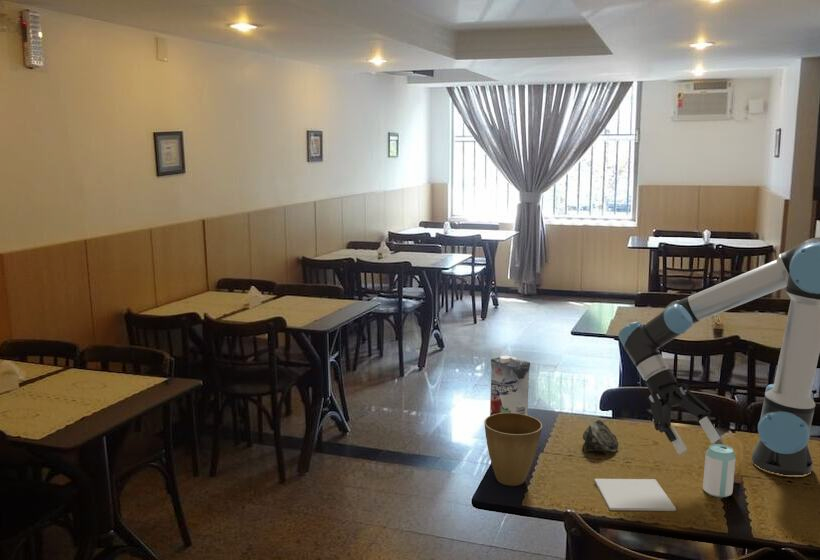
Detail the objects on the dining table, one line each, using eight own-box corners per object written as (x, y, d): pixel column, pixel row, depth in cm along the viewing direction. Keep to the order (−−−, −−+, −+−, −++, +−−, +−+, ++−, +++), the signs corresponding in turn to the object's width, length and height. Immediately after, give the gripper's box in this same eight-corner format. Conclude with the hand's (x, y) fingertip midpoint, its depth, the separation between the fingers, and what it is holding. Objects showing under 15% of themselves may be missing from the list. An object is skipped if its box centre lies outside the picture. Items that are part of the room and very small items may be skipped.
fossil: (621, 456, 214) (605, 426, 213) (591, 468, 217) (575, 437, 216) (618, 440, 225) (604, 411, 224) (589, 451, 227) (575, 422, 226)
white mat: (655, 481, 200) (655, 479, 200) (675, 510, 184) (675, 508, 184) (594, 480, 200) (594, 478, 200) (609, 510, 184) (610, 507, 184)
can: (699, 485, 198) (703, 442, 196) (727, 486, 197) (731, 443, 195) (706, 498, 191) (710, 453, 189) (735, 499, 190) (740, 454, 188)
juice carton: (508, 435, 230) (511, 349, 225) (530, 447, 222) (534, 358, 217) (484, 440, 226) (487, 353, 221) (506, 453, 217) (509, 362, 212)
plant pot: (472, 482, 199) (473, 424, 196) (501, 463, 210) (502, 408, 207) (522, 498, 190) (524, 438, 187) (549, 478, 202) (552, 420, 199)
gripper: (677, 374, 215) (719, 442, 206) (617, 389, 202) (659, 462, 192) (695, 361, 210) (739, 430, 200) (634, 376, 196) (678, 450, 187)
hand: (700, 446), depth 196 cm, fingers open, 13 cm apart
